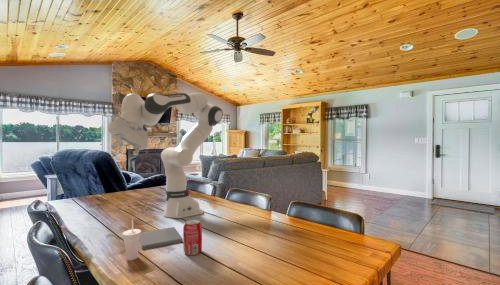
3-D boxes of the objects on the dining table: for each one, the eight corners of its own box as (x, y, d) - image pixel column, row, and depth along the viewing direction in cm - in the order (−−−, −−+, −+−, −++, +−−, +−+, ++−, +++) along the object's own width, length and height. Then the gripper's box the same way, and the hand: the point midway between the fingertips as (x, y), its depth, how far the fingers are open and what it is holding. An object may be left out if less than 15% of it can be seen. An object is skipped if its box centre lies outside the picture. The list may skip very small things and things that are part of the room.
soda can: (194, 246, 105) (194, 217, 104) (205, 251, 100) (205, 221, 100) (179, 252, 99) (179, 221, 99) (191, 258, 95) (191, 225, 94)
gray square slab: (174, 230, 124) (174, 227, 124) (182, 241, 110) (182, 238, 110) (138, 236, 116) (137, 232, 116) (141, 249, 102) (141, 245, 102)
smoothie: (144, 254, 98) (143, 217, 98) (137, 262, 92) (137, 223, 91) (127, 254, 98) (126, 217, 98) (119, 262, 91) (118, 223, 91)
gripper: (118, 109, 108) (115, 137, 101) (150, 132, 125) (149, 157, 119) (106, 114, 109) (102, 142, 103) (139, 135, 127) (137, 160, 120)
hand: (127, 150), depth 111 cm, fingers open, 8 cm apart
